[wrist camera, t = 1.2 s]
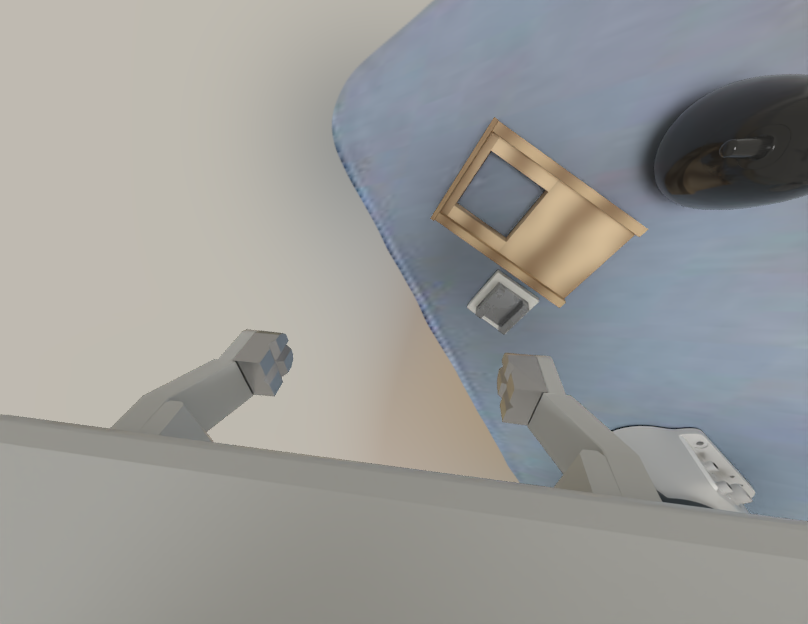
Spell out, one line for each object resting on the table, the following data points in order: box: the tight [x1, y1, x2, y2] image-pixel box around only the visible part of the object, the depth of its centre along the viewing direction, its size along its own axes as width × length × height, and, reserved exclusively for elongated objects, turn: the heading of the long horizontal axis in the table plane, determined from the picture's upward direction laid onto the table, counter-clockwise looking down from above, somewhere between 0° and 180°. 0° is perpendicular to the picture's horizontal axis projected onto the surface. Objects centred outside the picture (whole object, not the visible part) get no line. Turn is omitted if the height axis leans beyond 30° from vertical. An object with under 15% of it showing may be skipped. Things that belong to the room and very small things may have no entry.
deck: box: [430, 117, 648, 308], centre depth 35 cm, size 20×12×4 cm, turn 59°
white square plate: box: [467, 270, 539, 334], centre depth 42 cm, size 7×7×1 cm
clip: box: [475, 282, 529, 334], centre depth 41 cm, size 5×5×2 cm
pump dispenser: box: [654, 74, 808, 210], centre depth 23 cm, size 10×10×15 cm
